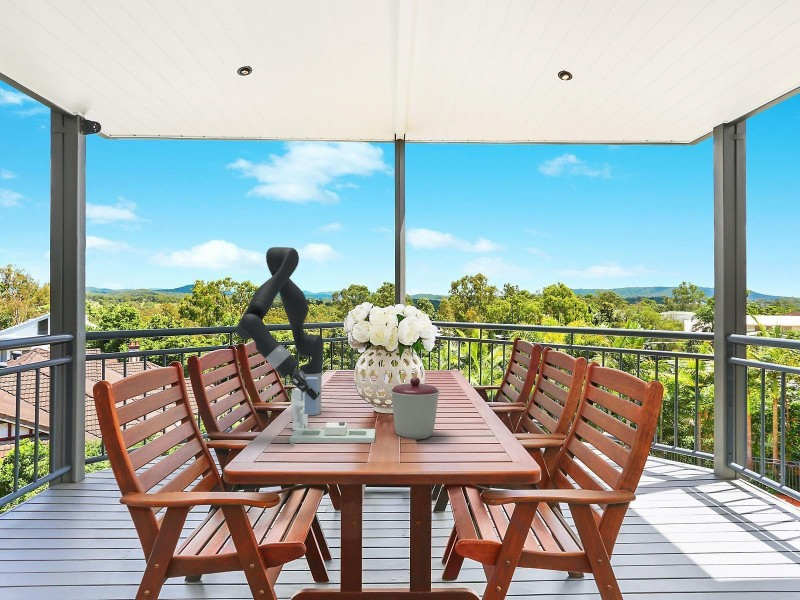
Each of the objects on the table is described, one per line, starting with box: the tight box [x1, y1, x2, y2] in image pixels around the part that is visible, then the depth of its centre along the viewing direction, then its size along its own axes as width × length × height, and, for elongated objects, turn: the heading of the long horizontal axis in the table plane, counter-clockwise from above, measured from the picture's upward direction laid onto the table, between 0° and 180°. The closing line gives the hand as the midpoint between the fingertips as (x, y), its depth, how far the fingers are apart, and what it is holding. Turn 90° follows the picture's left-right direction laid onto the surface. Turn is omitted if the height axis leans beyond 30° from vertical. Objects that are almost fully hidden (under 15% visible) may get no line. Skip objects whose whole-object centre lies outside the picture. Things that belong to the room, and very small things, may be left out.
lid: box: [324, 421, 348, 435], centre depth 182 cm, size 7×7×3 cm
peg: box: [304, 377, 318, 414], centre depth 181 cm, size 4×4×12 cm
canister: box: [389, 376, 441, 441], centre depth 189 cm, size 18×18×21 cm
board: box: [289, 427, 376, 445], centre depth 182 cm, size 12×28×2 cm, turn 92°
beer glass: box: [290, 387, 309, 431], centre depth 196 cm, size 7×7×15 cm
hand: (317, 396), depth 182 cm, fingers closed on peg, 4 cm apart
